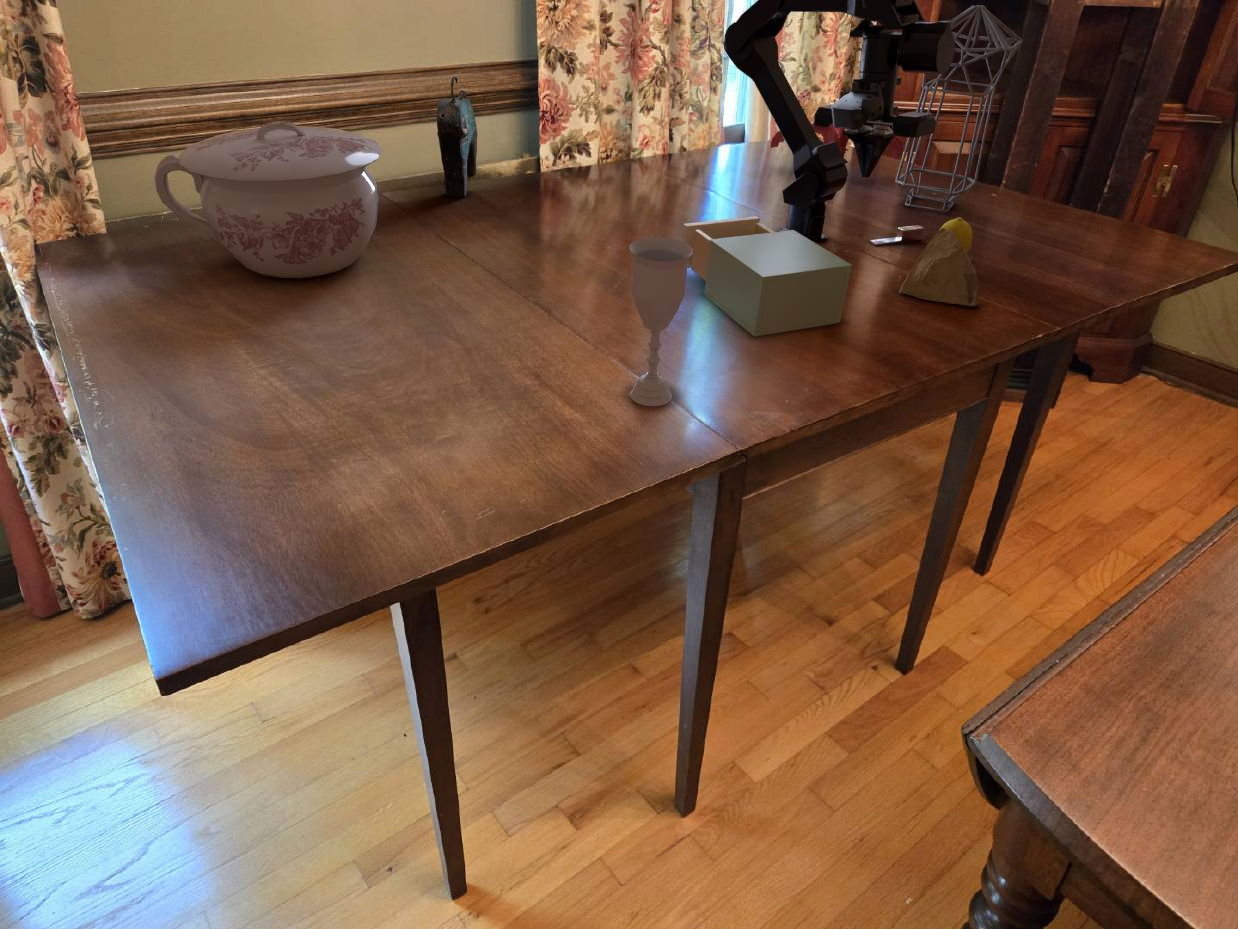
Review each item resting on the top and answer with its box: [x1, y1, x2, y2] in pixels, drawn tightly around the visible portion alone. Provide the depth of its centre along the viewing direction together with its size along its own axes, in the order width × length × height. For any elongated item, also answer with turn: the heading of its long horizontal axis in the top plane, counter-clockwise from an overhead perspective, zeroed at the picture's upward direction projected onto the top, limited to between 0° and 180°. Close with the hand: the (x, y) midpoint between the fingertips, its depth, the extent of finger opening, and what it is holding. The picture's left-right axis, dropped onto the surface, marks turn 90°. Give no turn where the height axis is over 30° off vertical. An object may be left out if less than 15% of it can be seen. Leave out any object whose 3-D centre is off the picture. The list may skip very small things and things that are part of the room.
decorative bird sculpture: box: [770, 123, 904, 159], centre depth 182 cm, size 28×9×15 cm
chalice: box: [628, 236, 693, 407], centre depth 93 cm, size 7×7×18 cm
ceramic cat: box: [436, 76, 478, 198], centre depth 158 cm, size 20×6×20 cm, turn 179°
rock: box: [898, 227, 981, 307], centre depth 123 cm, size 11×9×10 cm
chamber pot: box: [153, 120, 384, 279], centre depth 121 cm, size 28×28×21 cm
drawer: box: [681, 215, 775, 282], centre depth 127 cm, size 18×13×7 cm
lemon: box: [938, 216, 973, 254], centre depth 135 cm, size 6×6×8 cm
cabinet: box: [704, 230, 853, 338], centre depth 117 cm, size 15×14×9 cm
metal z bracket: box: [869, 224, 925, 247], centre depth 145 cm, size 10×2×2 cm, turn 113°
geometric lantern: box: [894, 4, 1023, 213], centre depth 154 cm, size 16×16×35 cm
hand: (865, 176), depth 133 cm, fingers closed
